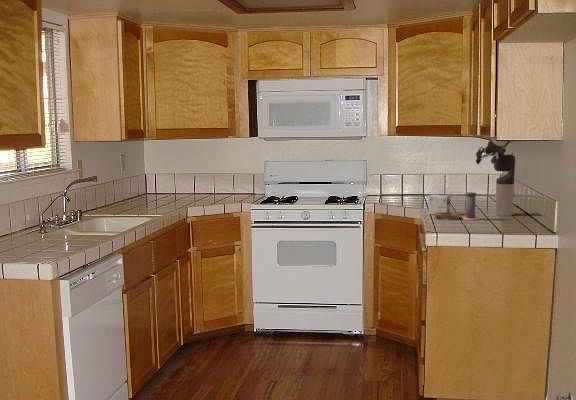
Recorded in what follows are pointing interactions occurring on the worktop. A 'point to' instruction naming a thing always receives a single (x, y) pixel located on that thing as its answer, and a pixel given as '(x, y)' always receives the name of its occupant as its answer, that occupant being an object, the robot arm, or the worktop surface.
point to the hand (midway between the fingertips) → (484, 162)
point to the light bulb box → (439, 203)
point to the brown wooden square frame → (447, 215)
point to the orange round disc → (470, 218)
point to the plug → (470, 205)
